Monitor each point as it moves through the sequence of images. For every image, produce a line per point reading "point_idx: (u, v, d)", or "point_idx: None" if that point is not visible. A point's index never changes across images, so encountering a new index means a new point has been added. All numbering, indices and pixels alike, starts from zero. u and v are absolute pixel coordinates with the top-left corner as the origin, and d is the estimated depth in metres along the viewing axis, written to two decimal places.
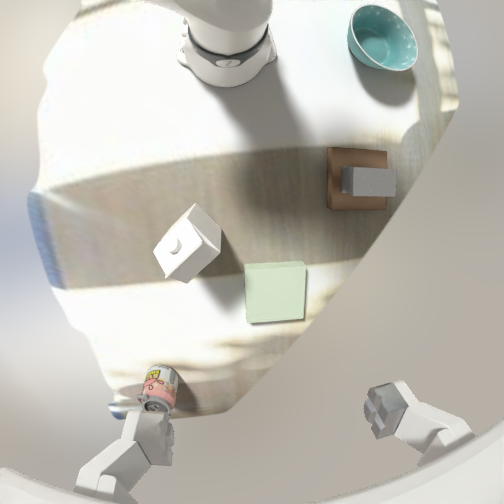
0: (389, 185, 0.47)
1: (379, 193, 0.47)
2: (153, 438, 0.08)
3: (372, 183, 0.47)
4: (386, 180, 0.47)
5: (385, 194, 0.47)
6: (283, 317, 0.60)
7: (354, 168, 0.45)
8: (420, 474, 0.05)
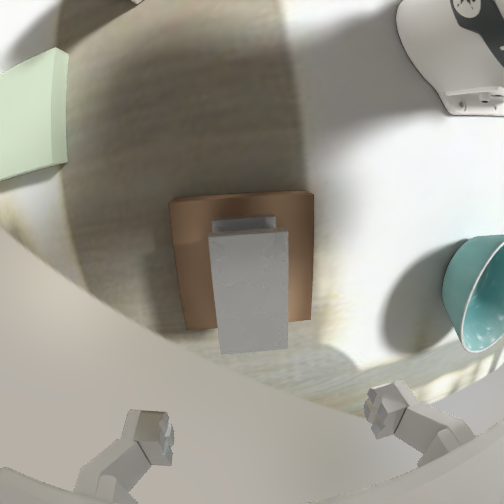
0: (247, 336, 0.20)
1: (223, 312, 0.20)
2: (153, 438, 0.08)
3: (247, 289, 0.19)
4: (259, 327, 0.20)
5: (223, 328, 0.20)
6: None
7: (284, 235, 0.18)
8: (420, 474, 0.05)
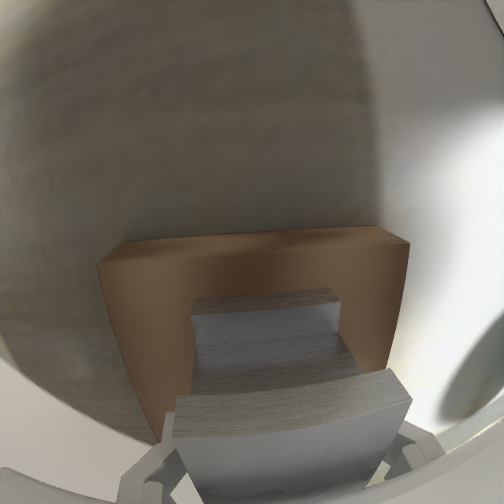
0: None
1: None
2: None
3: (283, 497, 0.06)
4: None
5: None
6: None
7: (401, 408, 0.05)
8: (420, 475, 0.05)
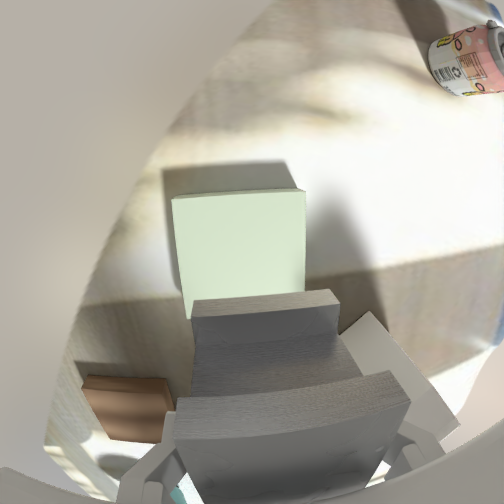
0: None
1: None
2: None
3: (283, 497, 0.06)
4: None
5: None
6: (220, 203, 0.25)
7: (400, 410, 0.05)
8: (420, 474, 0.05)
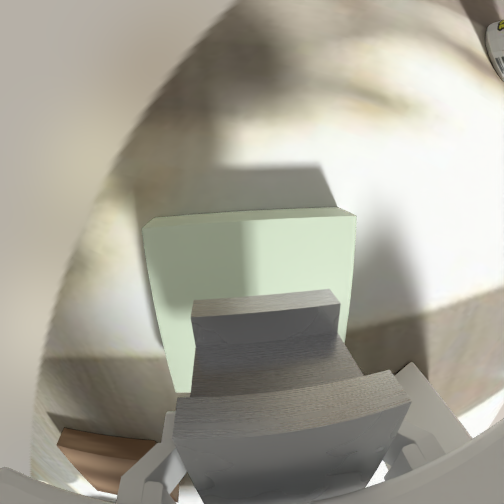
0: None
1: None
2: None
3: (283, 497, 0.06)
4: None
5: None
6: (221, 235, 0.15)
7: (400, 410, 0.05)
8: (420, 475, 0.05)
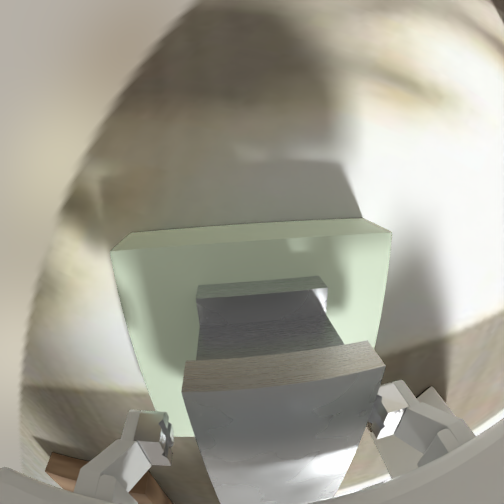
0: (270, 500, 0.08)
1: (227, 485, 0.08)
2: (153, 438, 0.08)
3: (277, 461, 0.07)
4: (292, 491, 0.08)
5: (227, 497, 0.08)
6: (214, 261, 0.11)
7: (376, 373, 0.06)
8: (420, 474, 0.05)
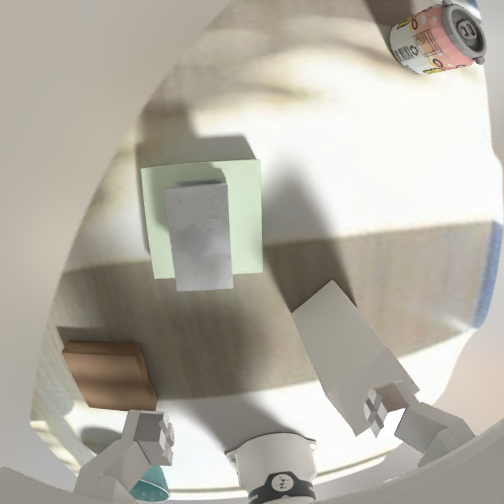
0: (198, 274, 0.25)
1: (177, 252, 0.24)
2: (153, 438, 0.08)
3: (196, 232, 0.23)
4: (207, 266, 0.25)
5: (177, 267, 0.24)
6: (183, 171, 0.27)
7: (224, 187, 0.23)
8: (420, 474, 0.05)
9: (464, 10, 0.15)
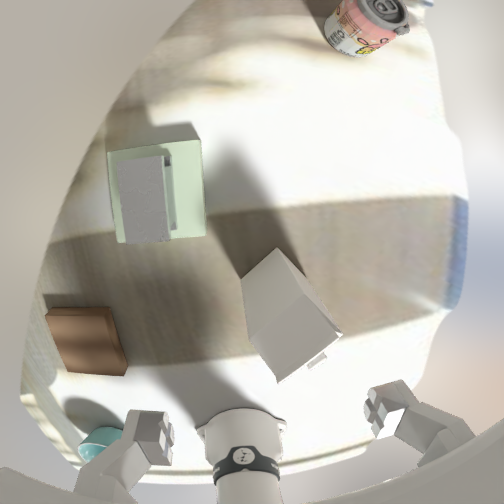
0: (141, 229, 0.29)
1: (125, 211, 0.28)
2: (153, 438, 0.08)
3: (139, 194, 0.28)
4: (148, 222, 0.29)
5: (126, 223, 0.29)
6: (138, 152, 0.32)
7: (159, 157, 0.27)
8: (420, 474, 0.05)
9: None
